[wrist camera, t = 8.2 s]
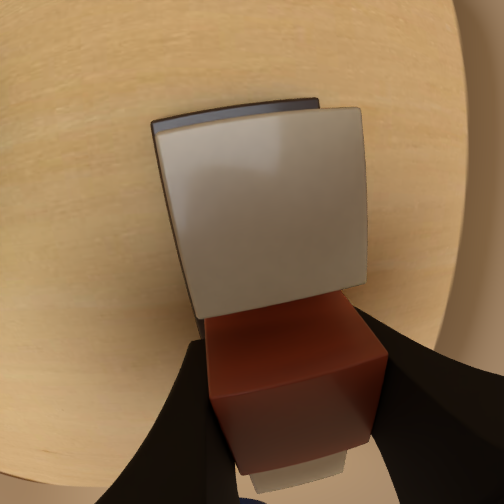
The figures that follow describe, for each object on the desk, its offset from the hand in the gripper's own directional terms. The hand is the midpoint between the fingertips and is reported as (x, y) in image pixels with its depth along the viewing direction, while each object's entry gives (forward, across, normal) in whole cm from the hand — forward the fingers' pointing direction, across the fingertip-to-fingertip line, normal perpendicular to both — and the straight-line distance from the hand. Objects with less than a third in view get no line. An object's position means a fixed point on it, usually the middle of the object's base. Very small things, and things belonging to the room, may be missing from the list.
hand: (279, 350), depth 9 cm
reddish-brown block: (+1, 0, 0) cm, 1 cm away
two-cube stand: (+3, 0, 0) cm, 3 cm away
